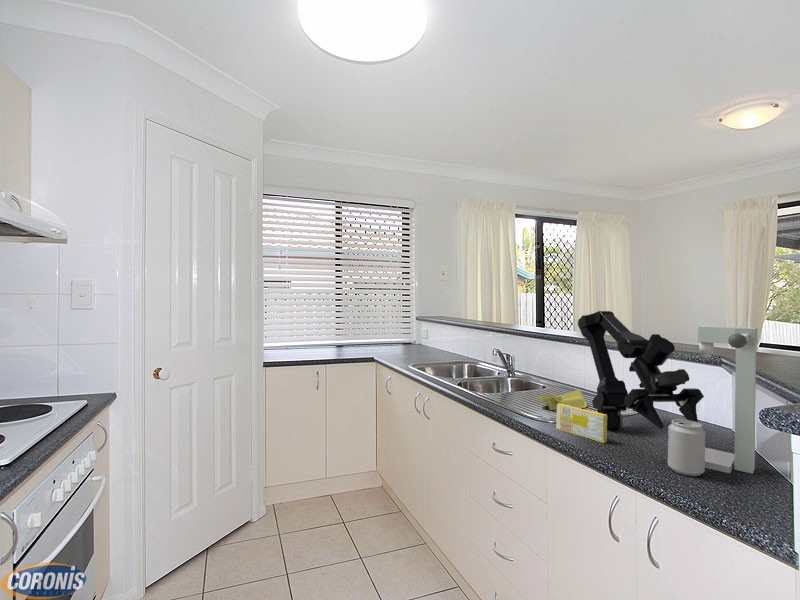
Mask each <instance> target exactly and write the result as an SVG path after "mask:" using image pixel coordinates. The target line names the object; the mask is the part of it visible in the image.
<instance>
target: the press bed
mask: <svg viewBox="0 0 800 600" xmlns="http://www.w3.org/2000/svg"><path fill="white" fill-rule="evenodd" d="M705 469H710V470H715V471H718V472H722V473H726V474H731V473H732V471H733V470H734V453H732V452H727V451H723V450H718V449H715V448H709V447H705Z"/></svg>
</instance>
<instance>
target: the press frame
mask: <svg viewBox="0 0 800 600" xmlns="http://www.w3.org/2000/svg"><path fill="white" fill-rule="evenodd" d="M697 342H698V343H699V344H698V345H699V346H698V347H699V348H698V350H699V354H701V357H703V358H711V357H712V355H714V350H715V349H714V347H715V344H724V345H725V344H726V345H727V344H729V346H731V347H732V348H734V349H735V373H734V374H735V377H734V378H735V379H734V380H735V390H734V392H735V393H734V394H735V395H734V397H735V398H734V451H733V452H734V453H733V454H734V467H733V470H735V471H739V472H744V473H748V474H752V475H753V474H754V471H755V464H756V400H757V399H756V398H757V397H756V396H757V395H756V393H757V392H756V390H757V389H756V388H757V387H756V386H757V385H756V383H757V382H756V381H757V345H758V327H743V326H741V327H740V326H720V325H717V326H714V325H698V326H697Z"/></svg>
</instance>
